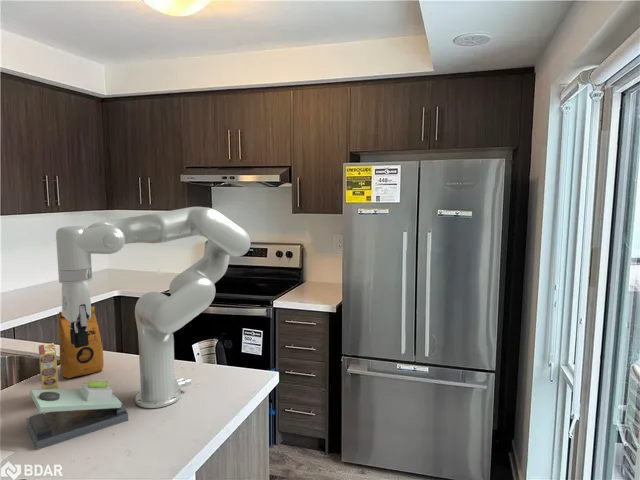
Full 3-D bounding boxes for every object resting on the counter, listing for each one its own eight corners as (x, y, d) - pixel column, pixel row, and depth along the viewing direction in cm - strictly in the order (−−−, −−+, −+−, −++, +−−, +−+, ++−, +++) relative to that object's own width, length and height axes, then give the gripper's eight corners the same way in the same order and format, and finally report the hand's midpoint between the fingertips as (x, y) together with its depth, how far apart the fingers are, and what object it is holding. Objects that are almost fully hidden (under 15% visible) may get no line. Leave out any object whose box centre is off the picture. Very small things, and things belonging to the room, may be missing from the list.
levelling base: (111, 401, 133) (111, 390, 132) (128, 420, 122) (127, 408, 122) (26, 425, 119) (25, 414, 119) (37, 449, 109) (36, 437, 108)
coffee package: (106, 373, 152) (103, 308, 150) (64, 382, 145) (59, 315, 142) (99, 363, 160) (96, 302, 157) (58, 372, 153) (54, 307, 150)
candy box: (60, 403, 132) (56, 351, 130) (43, 406, 129) (39, 354, 127) (57, 391, 139) (54, 342, 137) (41, 394, 137) (37, 345, 135)
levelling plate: (108, 391, 131) (112, 373, 131) (122, 407, 122) (126, 388, 122) (30, 394, 118) (34, 374, 118) (39, 412, 109) (44, 390, 109)
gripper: (51, 272, 120) (56, 339, 123) (66, 282, 108) (71, 357, 111) (83, 268, 125) (86, 333, 128) (100, 278, 113) (104, 350, 116)
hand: (79, 344), depth 119 cm, fingers open, 2 cm apart
